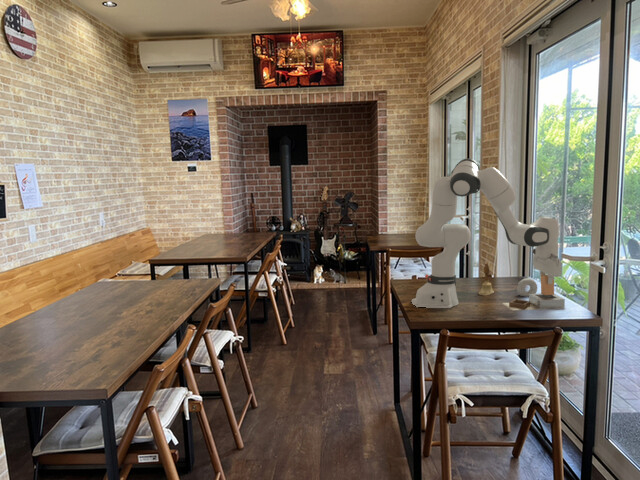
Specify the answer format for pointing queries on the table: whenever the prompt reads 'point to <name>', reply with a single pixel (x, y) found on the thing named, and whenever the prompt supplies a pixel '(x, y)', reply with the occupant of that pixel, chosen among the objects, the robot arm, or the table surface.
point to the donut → (523, 283)
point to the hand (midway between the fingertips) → (546, 282)
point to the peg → (546, 286)
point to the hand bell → (486, 283)
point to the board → (525, 308)
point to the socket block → (546, 301)
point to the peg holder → (519, 304)
